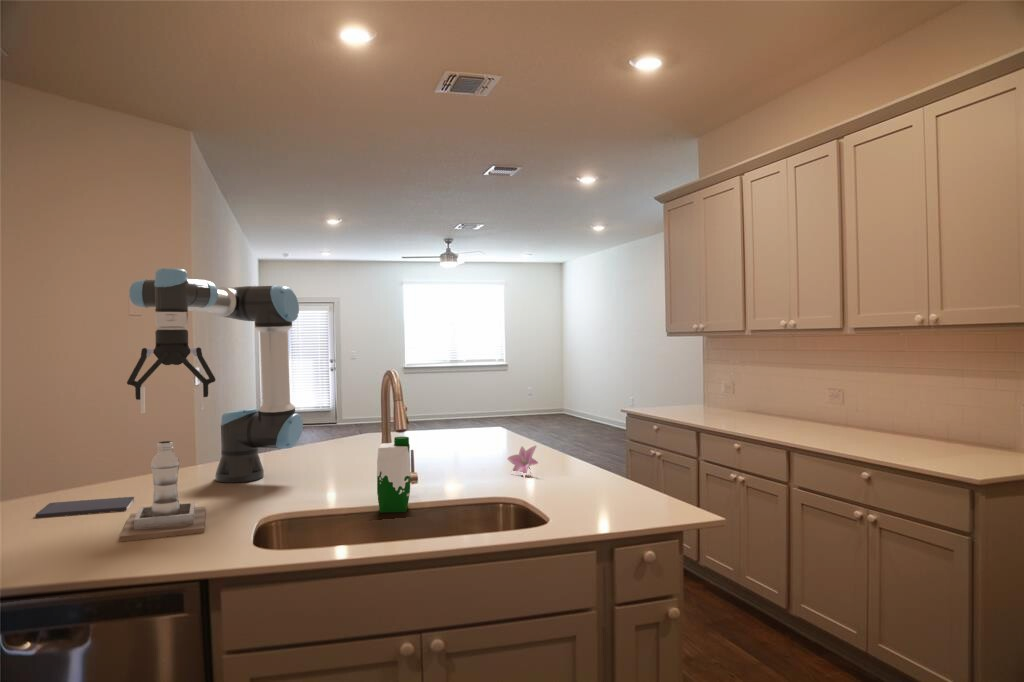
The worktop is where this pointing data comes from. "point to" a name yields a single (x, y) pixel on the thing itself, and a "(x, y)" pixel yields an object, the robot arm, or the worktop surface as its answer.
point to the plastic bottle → (165, 481)
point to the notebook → (85, 507)
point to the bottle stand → (164, 523)
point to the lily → (523, 459)
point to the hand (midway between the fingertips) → (172, 411)
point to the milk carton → (393, 475)
